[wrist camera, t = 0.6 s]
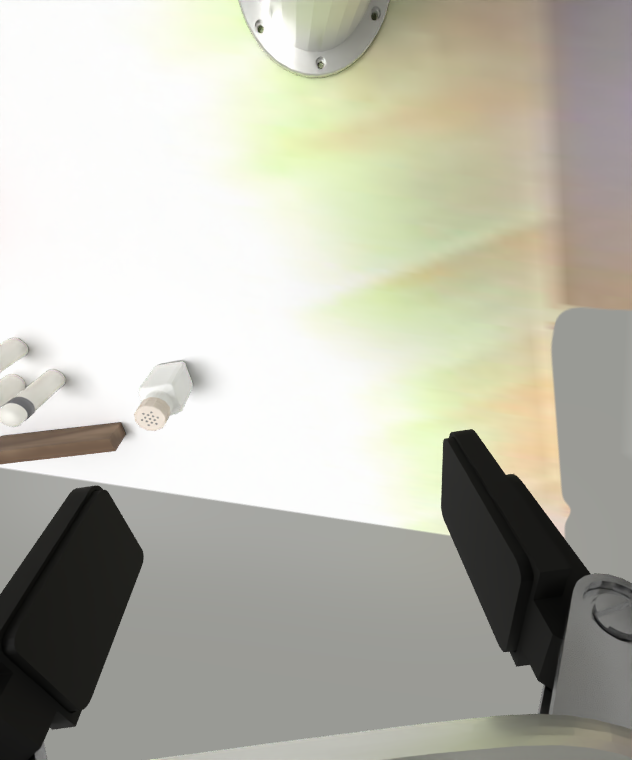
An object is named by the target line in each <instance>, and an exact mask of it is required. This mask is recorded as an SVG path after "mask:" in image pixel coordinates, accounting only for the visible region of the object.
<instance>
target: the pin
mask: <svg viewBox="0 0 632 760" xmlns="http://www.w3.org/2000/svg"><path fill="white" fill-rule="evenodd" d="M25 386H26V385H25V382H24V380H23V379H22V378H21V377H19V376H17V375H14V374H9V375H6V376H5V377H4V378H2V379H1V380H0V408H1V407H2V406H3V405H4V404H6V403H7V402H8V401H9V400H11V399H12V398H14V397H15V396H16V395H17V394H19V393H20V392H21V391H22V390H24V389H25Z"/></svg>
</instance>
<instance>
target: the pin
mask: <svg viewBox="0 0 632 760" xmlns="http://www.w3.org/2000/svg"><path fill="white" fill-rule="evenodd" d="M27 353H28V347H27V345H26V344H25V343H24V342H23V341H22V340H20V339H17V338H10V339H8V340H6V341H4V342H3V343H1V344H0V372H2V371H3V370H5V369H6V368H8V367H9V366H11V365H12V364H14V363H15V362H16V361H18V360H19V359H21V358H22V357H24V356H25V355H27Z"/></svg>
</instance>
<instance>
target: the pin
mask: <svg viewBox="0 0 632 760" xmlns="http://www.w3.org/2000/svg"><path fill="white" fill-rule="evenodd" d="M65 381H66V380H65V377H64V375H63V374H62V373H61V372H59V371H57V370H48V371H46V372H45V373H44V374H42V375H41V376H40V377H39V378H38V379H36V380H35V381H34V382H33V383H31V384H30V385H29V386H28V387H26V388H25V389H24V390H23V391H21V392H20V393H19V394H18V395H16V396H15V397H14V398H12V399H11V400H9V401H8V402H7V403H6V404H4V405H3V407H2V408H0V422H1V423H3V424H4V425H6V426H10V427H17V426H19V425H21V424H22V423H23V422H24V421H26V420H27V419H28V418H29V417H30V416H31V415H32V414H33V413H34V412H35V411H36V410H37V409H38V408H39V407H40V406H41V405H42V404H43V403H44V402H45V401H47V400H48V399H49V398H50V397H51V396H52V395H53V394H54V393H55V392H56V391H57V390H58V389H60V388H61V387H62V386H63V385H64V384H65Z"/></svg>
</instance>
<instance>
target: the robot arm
mask: <svg viewBox="0 0 632 760" xmlns="http://www.w3.org/2000/svg"><path fill="white" fill-rule="evenodd" d="M389 1H390V0H239V4H240V7H241V10H242V13H243V16H244V19H245V21H246V23H247V25H248V27H249V30H250V32H251V34H252V35H253V37H254V38H255V40H256V42H257V43H258V45H259V46H260V48H261V49H262V50H263V51H264V52H265V53H266V54H267V55H268V56H269V57H270V59H271V60H272V61H274V62H275V63H277V64H278V65H279V66H281V67H282V68H283V69H285V70H287V71H289V72H292V73H294V74H296V75H300V76H305V77H310V78H314V77H326V76H329V75H333V74H336V73H338V72H340V71H342V70H344V69H345V68H347V67H349V66H351V65H352V64H353V63H354V62H355V61H356V60H357V59H358V58H360V57H361V56H362V55H363V53H364V52H365V51H366V49H367V48H368V47H369V46H370V44H371V43H372V41H373V40H374V38H375V36H376V35H377V33H378V31H379V29H380V27H381V25H382V22H383V20H384V18H385V15H386V12H387V8H388V5H389ZM372 14H375V15H376V20H372V18H371V15H372ZM260 26H261V27H263V28H264V31H263V33H259V32H258V28H259V27H260ZM319 62H321V63H322V64H323V68H322V69H319V68H318V66H317V64H318V63H319ZM441 510H442V515H443V518H444V521H445V523H446V525H447V528H448V530H449V532H450V535H451V537H452V539H453V541H454V544H455V546H456V548H457V550H458V553H459V555H460V558H461V560H462V562H463V564H464V567H465V569H466V571H467V574H468V576H469V578H470V580H471V583H472V585H473V587H474V589H475V592H476V594H477V596H478V599H479V601H480V603H481V606H482V608H483V610H484V612H485V615H486V617H487V619H488V622H489V624H490V626H491V629H492V630H493V633H494V635H495V638H496V640H497V642H498V644H499V646H500V648H501V649H502V651H503V652H509V651H510V653H511V656H512V658H513V660H514V662H515V664H516V666H523V665H531V667H532V670H533V672H534V674H535V676H536V678H537V680H538V681H539V682H541V683H542V684H543V689H542V694H541V699H540V705H539V709H538V714H527V715H508V716H507V715H506V716H505V715H504V716H492V717H482V718H473V719H464V720H455V721H445V722H437V723H436V722H435V723H426V724H417V725H410V726H402V727H394V728H386V729H379V730H370V731H362V732H355V733H347V734H339V735H331V736H323V737H316V738H308V739H300V740H292V741H285V742H277V743H270V744H262V745H255V746H247V747H239V748H232V749H224V750H217V751H210V752H202V753H195V754H187V755H180V756H172V757H165V758H157V759H151V760H632V583H630V582H628V581H626V580H624V579H622V578H619V577H616V576H612V575H609V574H596V573H595V574H590V573H589V571H588V570H587V568H586V567H585V566H584V565H583V563H582V562H581V561H580V559H579V558H578V556H577V555H576V554H575V552H574V551H573V550H572V548H571V547H570V546H569V545H568V543H567V542H566V540H565V539H564V537H563V536H562V535H561V533H560V532H559V531H558V529H557V528H556V527H555V525H554V524H553V523H552V521H551V520H550V519H549V517H548V516H547V515H546V513H545V512H544V510H543V509H542V508H541V506H540V505H539V504H538V502H537V501H536V500H535V498H534V497H533V496H532V494H531V493H530V492H529V490H528V489H527V488H526V486H525V485H524V484H523V482H522V481H521V480H520V479H519V478H518V477H517V476H516V475H514V474H508V475H505V473H504V472H503V470H502V469H501V468H500V466H499V465H498V463H497V462H496V460H495V459H494V458H493V456H492V455H491V453H490V452H489V451H488V449H487V448H486V446H485V445H484V443H483V442H482V441H481V439H480V438H479V436H478V435H477V433H476V432H475V431H474V430H472V429H470V430H463V431H456V432H451V433H450V436H449V438H446V439H444V441H443V465H442V496H441ZM142 563H143V551H142V549H141V547H140V545H139V544H138V542H137V540H136V539H135V537H134V535H133V533H132V532H131V530H130V528H129V527H128V525H127V523H126V522H125V520H124V518H123V516H122V515H121V513H120V511H119V510H118V508H117V506H116V505H115V503H114V501H113V499H112V498H111V496H110V494H109V493H108V492H107V491H106V490H103V489H102V488H101V487H100V486H90V487H84V488H76V489H74V490H73V491H72V492H71V493H70V494H69V495H68V497H67V498H66V500H65V502H64V503H63V504H62V506H61V507H60V509H59V510H58V511H57V513H56V514H55V516H54V517H53V519H52V520H51V522H50V523H49V524H48V526H47V528H46V529H45V530H44V532H43V533H42V535H41V536H40V538H39V539H38V540H37V542H36V543H35V545H34V546H33V548H32V549H31V551H30V552H29V554H28V555H27V556H26V558H25V559H24V561H23V562H22V564H21V565H20V567H19V568H18V569H17V571H16V572H15V574H14V575H13V577H12V578H11V580H10V581H9V583H8V584H7V585H6V587H5V588H4V590H3V591H2V593H1V594H0V760H47V755H46V750H45V745H44V739H45V737H46V734H47V732H48V730H49V728H51V729H60V728H68V727H75V726H76V724H77V721H78V719H79V716H80V714H81V711H82V710H83V709H84V708H85V707H86V706H87V705H88V704H89V702H90V700H91V698H92V695H93V693H94V690H95V687H96V685H97V682H98V679H99V677H100V674H101V672H102V669H103V666H104V664H105V661H106V658H107V656H108V653H109V651H110V648H111V645H112V643H113V640H114V637H115V635H116V632H117V629H118V626H119V624H120V622H121V619H122V616H123V614H124V611H125V609H126V606H127V603H128V601H129V598H130V595H131V593H132V590H133V588H134V585H135V582H136V580H137V577H138V574H139V572H140V569H141V566H142Z"/></svg>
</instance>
